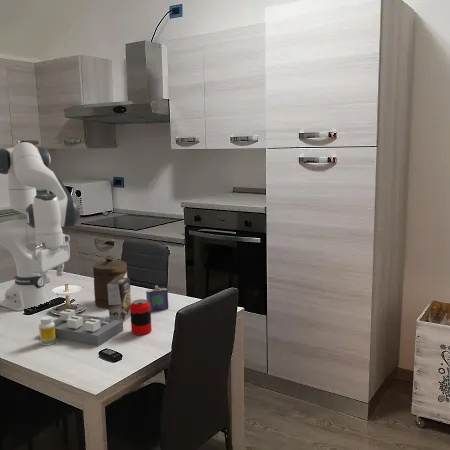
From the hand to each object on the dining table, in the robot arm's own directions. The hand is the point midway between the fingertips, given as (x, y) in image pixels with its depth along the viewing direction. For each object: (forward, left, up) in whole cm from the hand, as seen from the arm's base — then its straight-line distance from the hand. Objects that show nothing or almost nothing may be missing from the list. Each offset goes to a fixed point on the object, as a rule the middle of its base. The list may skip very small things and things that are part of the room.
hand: (53, 279), depth 171 cm
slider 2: (+1, +8, -21) cm, 22 cm away
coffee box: (+5, +31, -25) cm, 40 cm away
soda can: (+21, +22, -25) cm, 39 cm away
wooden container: (-10, +45, -25) cm, 52 cm away
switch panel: (-2, +12, -25) cm, 28 cm away
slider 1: (-7, +13, -21) cm, 26 cm away
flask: (+14, +45, -25) cm, 53 cm away
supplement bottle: (-6, +1, -25) cm, 26 cm away
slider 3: (+9, +8, -21) cm, 24 cm away
